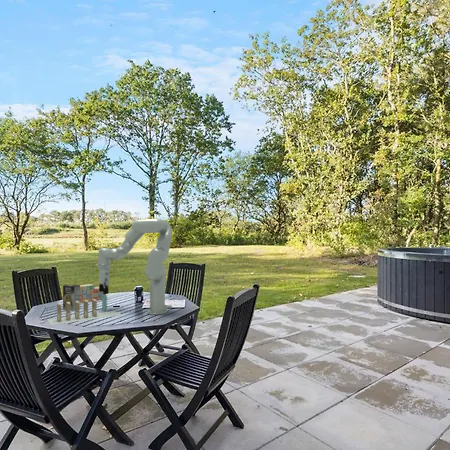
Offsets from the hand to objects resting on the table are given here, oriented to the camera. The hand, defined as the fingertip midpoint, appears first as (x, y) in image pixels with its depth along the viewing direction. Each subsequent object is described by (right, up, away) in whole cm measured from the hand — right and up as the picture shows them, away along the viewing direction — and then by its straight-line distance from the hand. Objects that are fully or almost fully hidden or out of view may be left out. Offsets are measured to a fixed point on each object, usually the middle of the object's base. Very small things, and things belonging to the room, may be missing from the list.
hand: (103, 292), depth 238 cm
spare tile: (+1, -12, 0) cm, 12 cm away
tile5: (-13, -11, -24) cm, 29 cm away
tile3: (-5, -11, -18) cm, 22 cm away
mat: (-5, -12, -19) cm, 23 cm away
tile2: (-1, -11, -15) cm, 19 cm away
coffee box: (-23, -12, +5) cm, 27 cm away
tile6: (-17, -11, -27) cm, 34 cm away
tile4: (-9, -11, -21) cm, 25 cm away
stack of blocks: (-20, -12, +32) cm, 40 cm away
